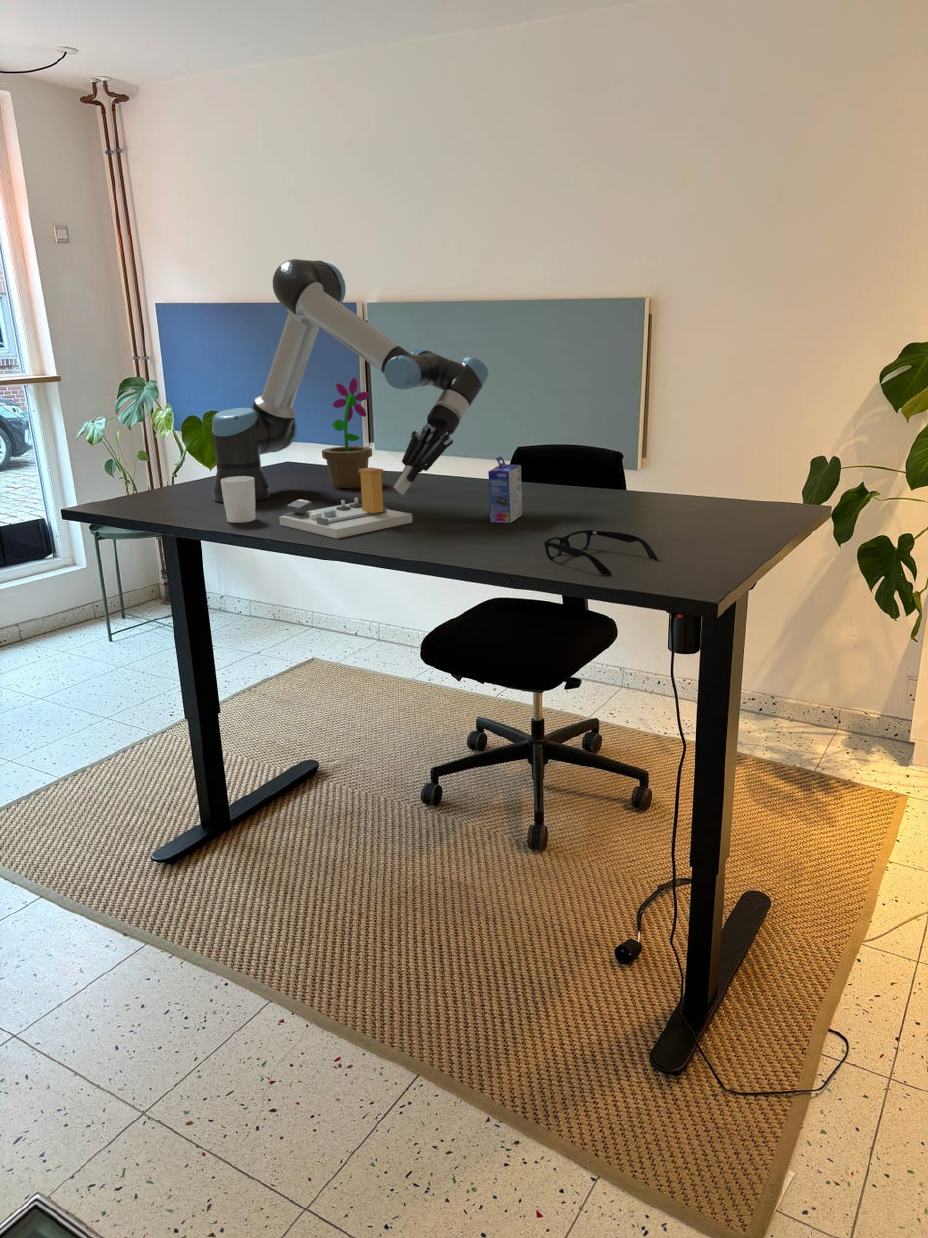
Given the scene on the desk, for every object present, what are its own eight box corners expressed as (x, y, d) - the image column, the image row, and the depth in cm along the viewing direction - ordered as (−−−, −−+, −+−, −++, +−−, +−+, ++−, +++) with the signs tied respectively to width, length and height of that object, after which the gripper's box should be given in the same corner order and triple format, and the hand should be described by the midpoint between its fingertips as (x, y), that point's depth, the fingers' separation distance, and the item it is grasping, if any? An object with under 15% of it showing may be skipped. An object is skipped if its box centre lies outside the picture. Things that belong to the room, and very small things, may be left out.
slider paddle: (360, 511, 215) (358, 469, 212) (372, 508, 217) (370, 467, 214) (373, 513, 212) (370, 471, 209) (385, 511, 214) (383, 469, 211)
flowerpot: (382, 482, 270) (377, 376, 261) (357, 490, 258) (351, 380, 248) (340, 479, 276) (334, 376, 267) (314, 487, 263) (306, 379, 254)
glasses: (589, 551, 189) (589, 527, 188) (661, 562, 177) (661, 536, 175) (535, 566, 179) (534, 541, 177) (607, 578, 166) (607, 551, 165)
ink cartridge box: (500, 514, 222) (500, 453, 217) (522, 515, 220) (522, 454, 215) (488, 522, 213) (487, 459, 208) (511, 523, 211) (510, 460, 206)
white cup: (264, 518, 223) (261, 477, 220) (244, 524, 216) (240, 482, 213) (238, 515, 226) (234, 475, 223) (217, 522, 220) (213, 480, 216)
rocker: (288, 510, 215) (286, 504, 215) (300, 504, 217) (298, 498, 217) (301, 513, 212) (299, 507, 211) (313, 507, 214) (311, 501, 213)
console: (279, 524, 215) (277, 506, 214) (353, 510, 230) (352, 493, 228) (336, 538, 200) (335, 519, 199) (412, 522, 215) (411, 504, 213)
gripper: (474, 425, 223) (425, 503, 217) (437, 421, 231) (390, 497, 226) (457, 404, 217) (407, 484, 211) (421, 401, 226) (372, 478, 220)
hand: (398, 490), depth 218 cm, fingers closed
